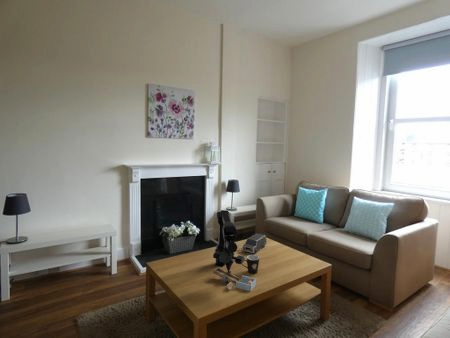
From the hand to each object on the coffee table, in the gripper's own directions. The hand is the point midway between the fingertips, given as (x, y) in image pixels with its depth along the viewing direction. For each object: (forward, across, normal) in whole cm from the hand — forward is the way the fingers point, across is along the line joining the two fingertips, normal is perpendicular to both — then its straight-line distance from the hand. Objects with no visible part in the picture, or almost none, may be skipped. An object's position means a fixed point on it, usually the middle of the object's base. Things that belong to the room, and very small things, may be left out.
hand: (228, 270), depth 164 cm
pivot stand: (+10, -4, +5) cm, 12 cm away
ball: (+8, +12, +5) cm, 15 cm away
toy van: (+11, -7, +63) cm, 65 cm away
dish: (+10, +10, +5) cm, 15 cm away
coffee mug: (+10, +5, +24) cm, 27 cm away
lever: (+8, -5, +2) cm, 9 cm away
